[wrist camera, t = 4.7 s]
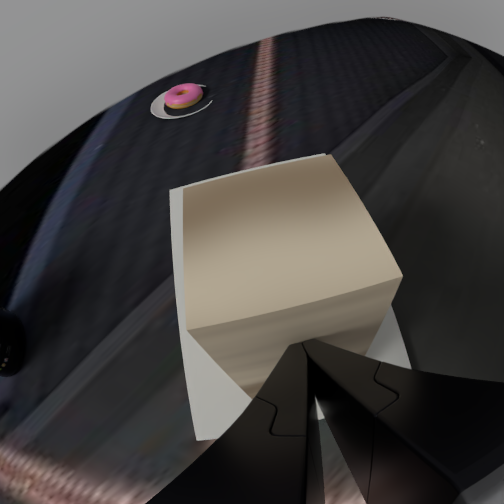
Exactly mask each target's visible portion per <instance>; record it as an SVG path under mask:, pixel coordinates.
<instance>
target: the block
mask: <svg viewBox="0 0 504 504" xmlns="http://www.w3.org/2000/svg"><path fill="white" fill-rule="evenodd" d="M183 267H184V294H185V315H186V330H187V331H188V333H189V334H190V335H191V336H192V337H193V338H194V339H195V340H196V342H197V343H198V344H199V345H200V346H201V347H202V348H203V349H204V350H205V351H206V353H207V354H208V355H209V356H210V357H211V358H212V359H213V360H214V361H215V362H216V363H217V364H218V365H219V366H220V368H221V369H222V370H223V371H224V372H225V373H226V374H227V375H228V376H229V377H230V378H231V379H232V380H233V381H234V382H235V383H236V384H237V385H238V386H239V387H240V388H241V389H242V390H243V391H244V392H245V393H246V394H247V395H248V396H249V397H250V398H251V399H253V398H254V397H255V395H256V394H257V393H258V391H259V390H260V388H261V387H262V385H263V384H264V382H265V381H266V379H267V378H268V376H269V375H270V373H271V372H272V370H273V369H274V367H275V366H276V364H277V363H278V361H279V359H280V358H281V356H282V355H283V353H284V352H285V350H286V349H287V347H288V346H289V345H290V344H294V343H298V342H300V343H302V342H303V341H306V340H310V339H317V340H319V341H322V342H325V343H328V344H331V345H334V346H337V347H339V348H342V349H345V350H348V351H351V352H354V353H357V354H360V355H363V356H365V355H366V353H367V351H368V349H369V347H370V345H371V344H372V342H373V340H374V338H375V336H376V334H377V332H378V330H379V328H380V326H381V324H382V322H383V320H384V318H385V315H386V313H387V311H388V309H389V307H390V305H391V303H392V300H393V298H394V296H395V294H396V291H397V289H398V287H399V284H400V282H401V280H402V277H403V275H402V273H401V271H400V269H399V267H398V265H397V263H396V261H395V259H394V257H393V255H392V254H391V252H390V250H389V248H388V246H387V244H386V243H385V241H384V239H383V237H382V235H381V234H380V232H379V230H378V228H377V227H376V225H375V223H374V221H373V220H372V218H371V216H370V215H369V213H368V211H367V210H366V208H365V206H364V205H363V203H362V201H361V200H360V198H359V197H358V195H357V193H356V192H355V190H354V189H353V187H352V185H351V184H350V182H349V181H348V179H347V178H346V176H345V175H344V173H343V172H342V170H341V169H340V167H339V166H338V164H337V163H336V161H335V160H334V158H333V157H332V155H331V154H330V155H325V156H319V157H314V158H309V159H304V160H299V161H294V162H289V163H284V164H280V165H275V166H270V167H266V168H262V169H257V170H253V171H249V172H244V173H240V174H236V175H232V176H228V177H224V178H220V179H216V180H213V181H209V182H205V183H201V184H198V185H194V186H190V187H187V188H183Z"/></svg>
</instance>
